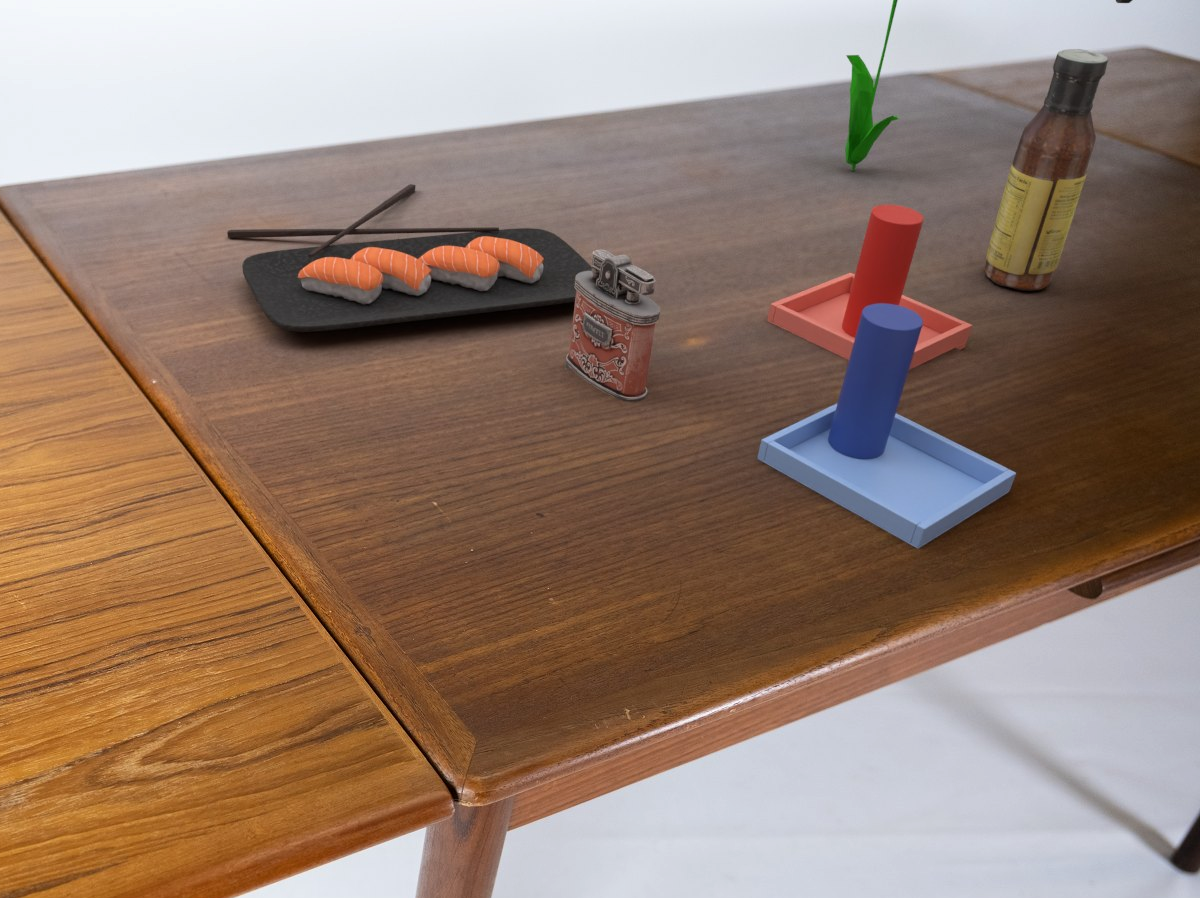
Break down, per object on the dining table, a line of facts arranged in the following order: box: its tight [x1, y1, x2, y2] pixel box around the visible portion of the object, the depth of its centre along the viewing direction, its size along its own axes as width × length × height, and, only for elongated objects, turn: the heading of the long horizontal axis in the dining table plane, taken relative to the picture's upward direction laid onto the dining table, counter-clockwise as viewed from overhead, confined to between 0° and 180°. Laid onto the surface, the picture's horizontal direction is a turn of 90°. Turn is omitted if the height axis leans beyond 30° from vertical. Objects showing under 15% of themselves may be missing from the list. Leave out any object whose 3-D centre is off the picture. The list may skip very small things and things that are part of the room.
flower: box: [844, 0, 899, 172], centre depth 130 cm, size 9×8×30 cm
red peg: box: [842, 204, 924, 337], centre depth 103 cm, size 4×4×10 cm
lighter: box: [564, 249, 661, 403], centre depth 94 cm, size 8×3×10 cm, turn 35°
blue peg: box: [828, 303, 923, 459], centre depth 88 cm, size 4×4×10 cm
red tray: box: [766, 272, 973, 371], centre depth 106 cm, size 12×11×2 cm
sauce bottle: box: [983, 48, 1109, 292], centre depth 112 cm, size 6×6×20 cm
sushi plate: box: [226, 183, 592, 333], centre depth 112 cm, size 29×30×4 cm
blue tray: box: [757, 403, 1017, 549], centre depth 88 cm, size 13×11×2 cm
